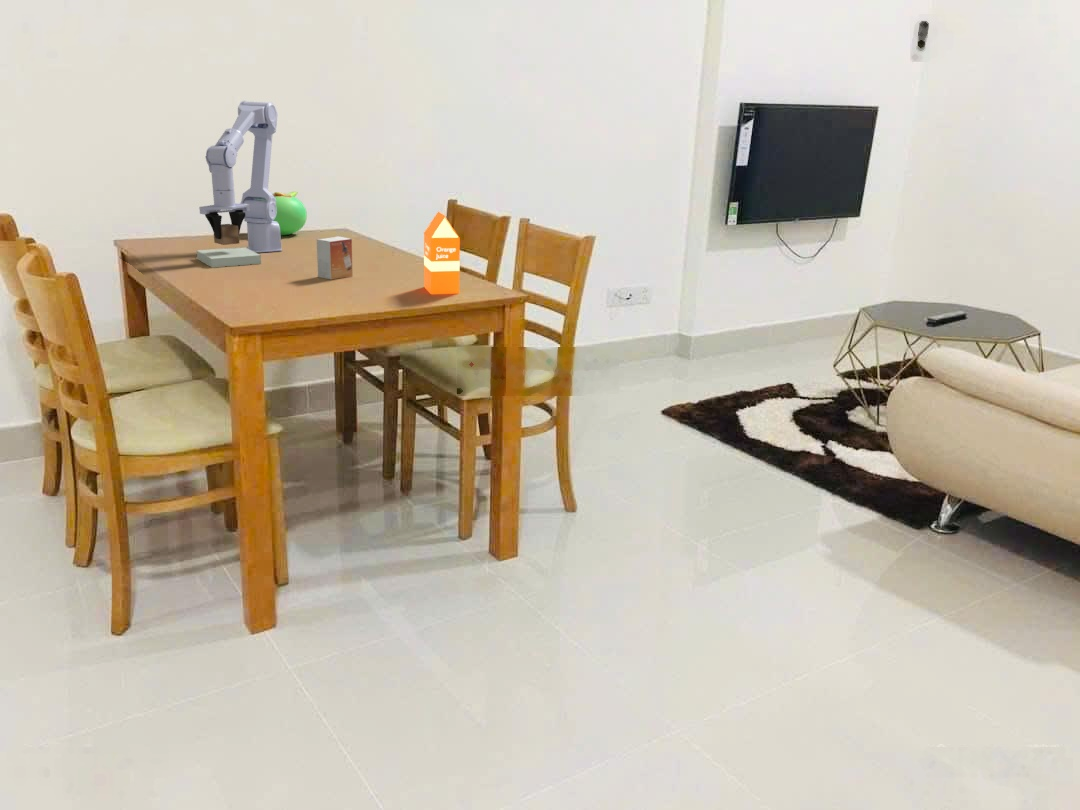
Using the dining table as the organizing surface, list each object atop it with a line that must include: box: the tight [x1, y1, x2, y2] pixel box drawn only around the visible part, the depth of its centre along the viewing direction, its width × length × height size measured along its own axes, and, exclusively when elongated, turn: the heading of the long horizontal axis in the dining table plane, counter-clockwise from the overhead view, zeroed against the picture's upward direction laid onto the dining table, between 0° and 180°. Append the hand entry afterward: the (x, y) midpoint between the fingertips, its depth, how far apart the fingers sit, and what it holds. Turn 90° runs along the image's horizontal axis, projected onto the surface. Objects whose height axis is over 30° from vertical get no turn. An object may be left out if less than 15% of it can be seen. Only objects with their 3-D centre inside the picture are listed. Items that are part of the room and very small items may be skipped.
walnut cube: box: [213, 223, 240, 246], centre depth 254 cm, size 5×5×5 cm
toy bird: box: [254, 191, 308, 236], centre depth 301 cm, size 18×17×15 cm
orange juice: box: [423, 211, 461, 295], centre depth 230 cm, size 8×9×20 cm
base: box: [196, 246, 262, 268], centre depth 256 cm, size 14×14×2 cm
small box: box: [316, 235, 354, 281], centre depth 242 cm, size 8×6×10 cm
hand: (227, 237), depth 255 cm, fingers closed on walnut cube, 5 cm apart
